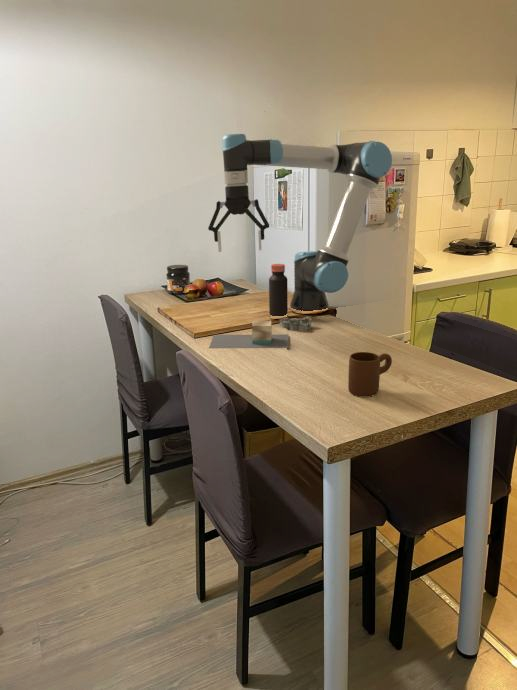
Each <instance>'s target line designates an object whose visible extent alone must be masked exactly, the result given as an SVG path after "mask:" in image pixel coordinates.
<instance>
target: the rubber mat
mask: <svg viewBox="0 0 517 690" xmlns="http://www.w3.org/2000/svg"><path fill="white" fill-rule="evenodd" d="M208 349H286V350H288V351H289V334H284V333H283V334H281V333H279V334H278V333H277V334H272V339H271V344H252V334H213V337H212V339H211V341H210V343H209V347H208Z"/></svg>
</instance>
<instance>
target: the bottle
mask: <svg viewBox="0 0 517 690" xmlns="http://www.w3.org/2000/svg"><path fill="white" fill-rule="evenodd" d="M285 266H286V264H283V263H272V264H271V269H270V270H271V275H270V277H269V278H268V305H269V307H268V309H269V310H268V311H269V314H270V315H272V316H284V315H286V314H287V313H288V314H289V312H288V307H289V306H288V277H287V276H286V275H285V272H286V267H285Z"/></svg>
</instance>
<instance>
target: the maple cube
mask: <svg viewBox="0 0 517 690" xmlns="http://www.w3.org/2000/svg"><path fill="white" fill-rule="evenodd" d="M272 332H273V331H272V320H252V324H251V335H252V344H271V339H272V335H273V334H272Z"/></svg>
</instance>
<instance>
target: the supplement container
mask: <svg viewBox="0 0 517 690" xmlns="http://www.w3.org/2000/svg"><path fill="white" fill-rule="evenodd" d="M166 271H167V272H166V287H167V292H168V294H170V295H173V294H172V293H173V292H177V293H183V291H184V288H185V286H186V285H188V284H190V285H191V279H190V277H191V274H190V272H189V266H188V265H186V264H171V265H168V266H166Z"/></svg>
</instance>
